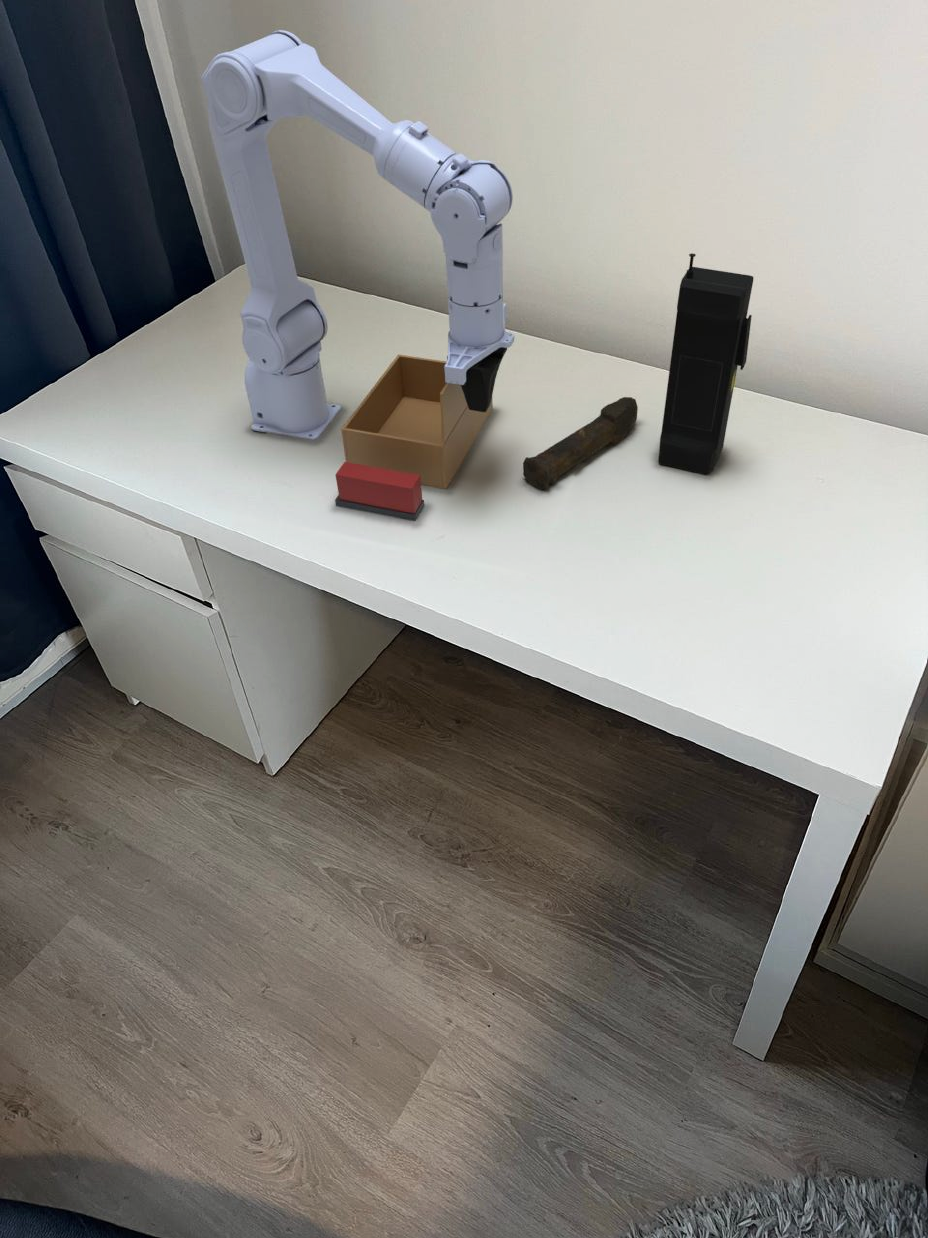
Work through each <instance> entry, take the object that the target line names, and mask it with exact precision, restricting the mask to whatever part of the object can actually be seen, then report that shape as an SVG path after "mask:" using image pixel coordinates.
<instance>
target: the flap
mask: <svg viewBox="0 0 928 1238" xmlns="http://www.w3.org/2000/svg"><path fill="white" fill-rule="evenodd" d="M466 406H467V402H466V399H465V396H464V393H463V390H462V387H461V385H459V384H452V383H447V384H446V385H445V387H444V388H443V390H442V391H441V393H440V407H441V435H442V441H445V440H446V438H447V437H448V435H449V433H450V432H451V430H452V429H453V427H454V425H455V424H456V422H457V421H458V419H459V417H460V416H461V414H462V413H463V411H464V409H465V408H466Z"/></svg>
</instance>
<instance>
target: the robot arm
mask: <svg viewBox="0 0 928 1238" xmlns="http://www.w3.org/2000/svg"><path fill="white" fill-rule="evenodd" d="M200 79H201V83H202V88H203V91H204V96H205V99H206V102H207V103H206V104H207V106H208V127H209V132H210V137H211V139H212V144H213V147H214V151H215V154H216V158H217V162H218V166H219V169H220V174H221V179H222V181H223V184H224V189H225V192H226V196H227V200H228V203H229V206H230V211H231V214H232V219H233V223H234V226H235V230H236V233H237V237H238V241H239V246H240V249H241V252H242V256H243V260H244V264H245V268H246V271H247V275H248V279H249V282H250V286H251V288H250V291H249V293H248V295H247V298H246V299H245V302H244V305H243V306H242V309H241V312H240V318H241V321H242V327H243V328H242V335H241V340H242V345H243V349H244V352H245V354H246V357H248V361H247V363H246V365H245V369H244V386H245V392H246V396H247V399H248V404H249V408H250V414H251V417H252V420H253V421H252V422H253V423H252V424H251V426H250V428H251V430H252V431H257V432H261V433H272V434H277V435H283V436H289V437H294V438H299V439H306V440H311V441H316V440H318V439H319V438H320V436H321V435H322V433H323V432H324V431H325V430H326V429H327V427H328V426H329V425H330V424H331V422H332V421H333V419H335V417H336V416H337V415H338V413H339V412H340V411H341V410H342V406H341V405H338V404H334V403H329V402H328V400H327V394H326V387H325V382H324V376H323V369H322V364H321V357H320V352H322V350H323V349H322V343H321V341H322V340H324V339H325V337H326V336H327V334H328V329H329V327H328V326H329V325H328V319H327V317H326V314H325V312H324V310H323V309H322V307H321V305H320V304H319V301H318V299H317V296H316V292H315V288H314V286H312V285H310V284H309V283H307V282H305V281H304V280H303V281H302V280H300V279H299V278H298V274H297V270H296V265H295V261H294V257H293V253H292V248H291V243H290V239H289V234H288V230H287V226H286V222H285V217H284V213H283V208H282V204H281V199H280V195H279V190H278V187H277V183H276V178H275V174H274V168H273V165H272V162H271V156H270V152H269V148H268V143H267V136H268V134H269V133H270V132H271V130H272V128H273V126H275V124H276V123H277V121H278V120H281V119H288V118H296V117H303V116H307V117H309V118H311V119H312V120H314V121H316V122H317V123H318V124H321V125H323V126H324V127H325V128H327V129H328V130H331V131H332V132H334V133H336V134H337V135H339V136H340V137H341V138H343V139H345V140H347V141H348V142H350V143H352V144H353V145H355V146H356V147H358V148H360V149H361V150H363V151H365V152H366V153H368V154H370V155H371V156H373V160H374V164H375V166H376V171H377V174H378V176H379V177H381V179H383V180H384V181H386V182H388V183H389V184H390V185H392V186H393V187H395V188H396V189H397V190H399V191H400V192H401V193H403V194H404V195H406V196H407V197H408V198H410V199H412V200H413V201H414V202H415V203H417V204H418V205H420V206H421V207H422V208H424V209H425V210H426V211H428V212H430V217H431V220H432V224H433V226H434V228H435V230H436V231H437V233H438V234H439V236H440V238H441V240H442V249H443V253H445V269H446V270H445V271H446V272H445V273H446V288H447V308H448V325H449V331H448V333H447V356H446V362H447V363H446V364H445V382H446V383H452V384H459V385H461V387H462V390H463V393H464V396H465V399H466V402H467V405H468V408H469V410H473V411H479V412H486V411H487V409H488V408H489V406H490V403H491V399H492V400H493V393H494V389H495V383H496V379H497V376H498V372H499V369H500V365H501V363H502V361H503V358H504V356H505V355H506V352H507V351H508V349H509V348H510V347H512V345H513V344H514V343H515V334H514V333H512V332H507V331H506V323H505V322H506V320H507V303H506V302H504V251H503V250H504V249H503V248H504V246H503V223H500V222H502V221H503V220H504V219H505V218H506V216H507V215H509V213H510V210H511V209H512V205H513V199H514V198H513V197H514V196H513V189H512V185H511V182H510V181H509V179H508V178H507V176H506V174H505V173H504V172H503V171H502V170H501V169H500V168H499V167H498V166H497V165H496V163H495V162H493V161H491V160H486V159H480V160H479V159H478V160H471V159H469V158H468V157H467V156H465V155H464V154H462V153H457V152H456V151H454V150H453V149H451V148H450V147H448V146H447V145H445V143H443V142H441V141H440V140H439V139H437V138H436V137H435V136H433V135H432V134H430V133H429V127H428V126H427V125H426V124H424V123H423V122H421V121H420V120H418V121H415V122H413V121H412V120H410V119H404V120H401V121H398V122H391V121H390V120H389V119H388V118H386V116H384V115H383V114H382V113H380V112H379V110H377V109H376V108H375V107H373V105H371V104H370V103H368V102H367V101H366V100H365V99H364V98H363V97H361V96H360V95H359V94H358V93H356V91H355V90H353V89H351V87H349V86H348V85H346V84H345V83H344V82H343V81H342V80H341V79H339V77H337V76H336V75H335V74H334V73H332V72H331V71H330V70H328V68H327V67H325V66H324V65H323V64H322V63H321V61H320V57H319V54H318V52H317V50H316V49H315V47H313V46H311V45H309V44H307V43H305V42H303V41H302V40H301V39H300V38H299V37H298V36H297V35H296V34H294V33H293V32H291V31H288V30H283V29H278V30H275V31H272V32H270V33H269V34H268V35H267V36H265V37H263V38H260V39H257V40H255V41H253V42H250V43H248V44H245V45H242V46H240V47H238V48H236V49H233V50H231V51H226V52H222V53H219V54H217V55H215V56H214V57H213V58H212V60H211V61H210V63H209V64H208V66H207V68H206V69H205V71H204V72H203V74H201V77H200Z"/></svg>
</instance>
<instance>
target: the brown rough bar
mask: <svg viewBox="0 0 928 1238" xmlns="http://www.w3.org/2000/svg"><path fill="white" fill-rule="evenodd" d="M637 403H638V402H637V401H636V399H635V398H633V397H632V396H629V397H628V396H623V397H621V398H619V399H618V400H616V401H613V402H611V403H608V404H607V405H605V406H603V408H601V410H600V413H599V416H597V417H596V418H594V419H593V420H592V421H590V422H589V423H587V424H586V425H583V426H582V427H581V428H579V429H578V430H575V431H574V432H573V433H571V434H569V435H568V436H566V437H565V438H563V439H561V440H560V441H558V442H556V443H554V444H553V445H552V446H550V447H548V448H547V449H545V450H544V451H542V452H539V453H538V454H537V455H535V456H531V457H525V458H524V461H523V463H522V470H523V473H522V475H523V477H524V478H525V481H526V482H527V483H529V484H531V485H532V486H533V487H535V488H537V489H539V490H541V491H544V490H547V488H548V487H549V485H553V484H555V482H556V480H557V479H558V477H560V476H561V475H564V474H565V473H566V472H568V471H569V470H570V469H572V468H573V467H574V466H576V465H578V464H579V463H582V462H584V461H585V459H587V458H589V457H591V456H592V455H593V454H595V453H596V452H598V451H599V450H601V449H602V448H604V447H606V446H607V445H611V446H612V445H615V444H618V443H619V442H620V441H622V439H623V438H624V437H625V436H626V435H627V434H628V433H629V432H630V431H631V429H632V428H633V427H634V425H635V424H636V423H637V421H638V411H639V410H638V409H639V407H638V404H637Z"/></svg>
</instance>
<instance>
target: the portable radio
mask: <svg viewBox="0 0 928 1238" xmlns="http://www.w3.org/2000/svg"><path fill="white" fill-rule="evenodd" d="M688 256H689V257H690V258H689V266H688V269H686V272H685V274H684V275H683V276H682V278H681V281H680V284H679V290H678V298H677V303H676V304H677V305H676V316H675V324H674V330H673V331H674V332H673V338H672V347H671V354H670V355H671V357H670V362H669V363H670V364H669V371H668V378H667V387H666V395H665V401H664V410H663V417H662V426H661V433H660V438H659V449H658V450H659V451H658V463H659V464H660V465H662V466H667V467H670V468H674V469H675V468H676V469H680V470H684V471H689V472H693V473H696V474H697V473H698V474H702V475H708V474H709V473H711V472H712V471H714V469H715V468H716V466H717V463H718V461H719V459H720V456H721V454H722V452H723V449H724V444H725V438H726V434H727V427H728V420H729V416H730V410H731V405H732V399H733V394H734V388H735V382H736V377H737V371H738V366H739V367H740V368H739V369H740V371H742V370H743V369H744V367H745V366H746V364H747V360H748V359H747V358H748V349H749V343H750V342H749V341H750V334H751V325H752V324H751V323H752V317H753V315H752V314H749V315H748V312H749V305H750V300H751V295H752V290H753V284H754V276H753V275H750V274H742V273H737V272H729V271H724V270H718V269H717V270H716V269H711V268H704V267H699V266H698V267H697V266H693V265H694V258H695V257H696V256H697V254H696V253H689V254H688ZM747 316H748V317H747Z"/></svg>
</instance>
